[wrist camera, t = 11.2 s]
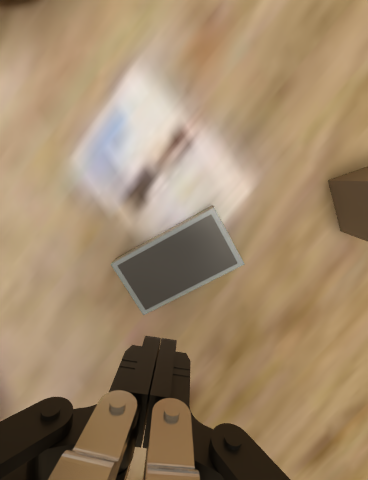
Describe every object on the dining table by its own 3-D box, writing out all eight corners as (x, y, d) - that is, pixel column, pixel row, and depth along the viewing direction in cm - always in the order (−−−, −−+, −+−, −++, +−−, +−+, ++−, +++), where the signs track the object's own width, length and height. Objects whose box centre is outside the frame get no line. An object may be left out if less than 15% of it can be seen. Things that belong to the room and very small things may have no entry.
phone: (240, 257, 27) (244, 264, 25) (147, 305, 29) (143, 315, 27) (212, 204, 26) (214, 207, 24) (117, 257, 28) (110, 264, 26)
